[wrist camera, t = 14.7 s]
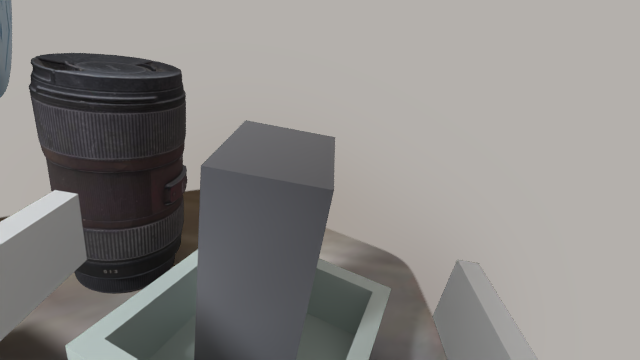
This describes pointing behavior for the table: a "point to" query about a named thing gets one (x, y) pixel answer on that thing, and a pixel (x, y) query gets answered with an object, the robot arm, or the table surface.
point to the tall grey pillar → (260, 241)
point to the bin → (180, 316)
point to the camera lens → (116, 159)
